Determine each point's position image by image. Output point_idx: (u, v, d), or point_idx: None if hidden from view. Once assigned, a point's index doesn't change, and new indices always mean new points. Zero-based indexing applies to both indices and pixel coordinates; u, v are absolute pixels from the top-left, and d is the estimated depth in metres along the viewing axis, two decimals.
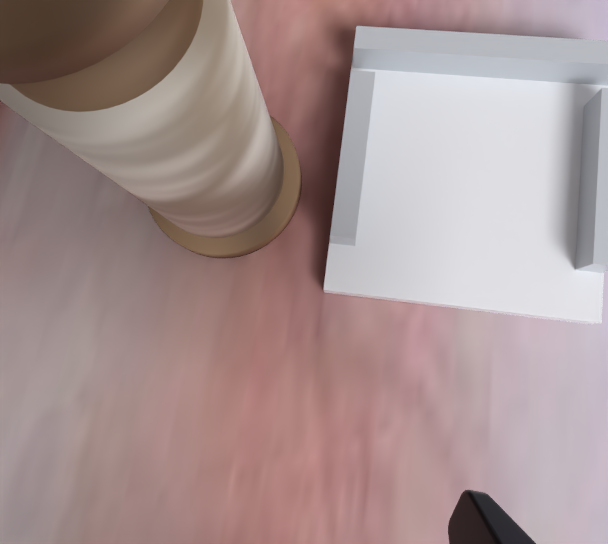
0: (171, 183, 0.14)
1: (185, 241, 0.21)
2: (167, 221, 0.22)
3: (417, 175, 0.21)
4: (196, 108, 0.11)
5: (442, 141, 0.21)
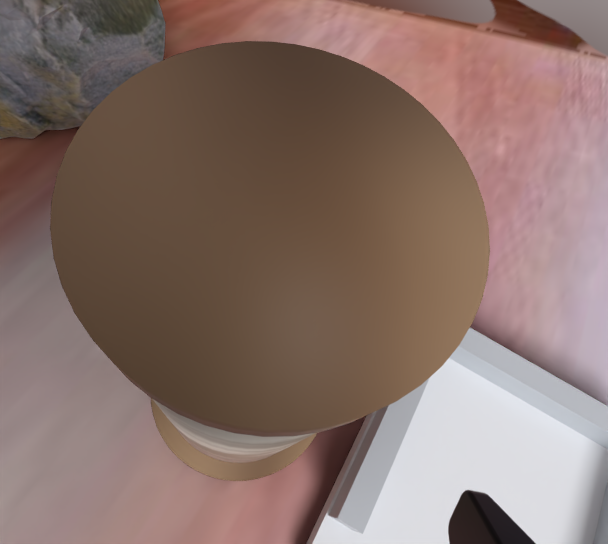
0: (227, 450, 0.12)
1: (172, 442, 0.18)
2: None
3: (438, 476, 0.19)
4: None
5: (471, 450, 0.20)
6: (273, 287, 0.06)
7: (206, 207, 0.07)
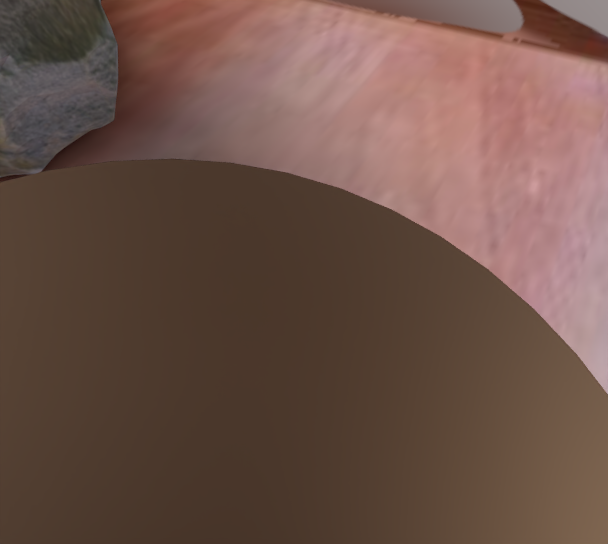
0: None
1: None
2: None
3: None
4: None
5: None
6: None
7: None
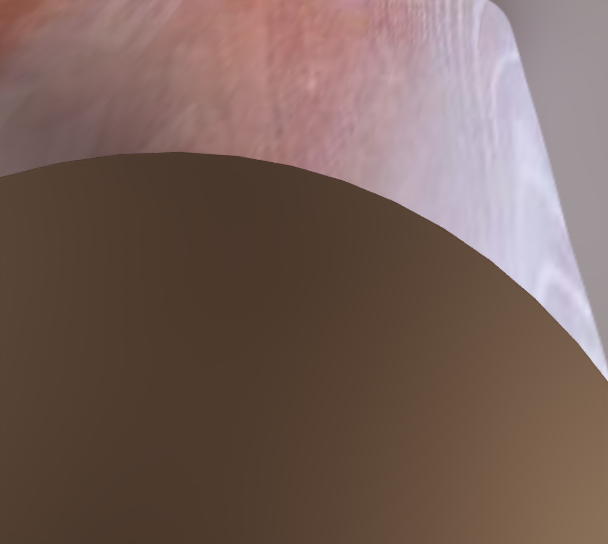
0: None
1: None
2: None
3: None
4: None
5: None
6: None
7: None
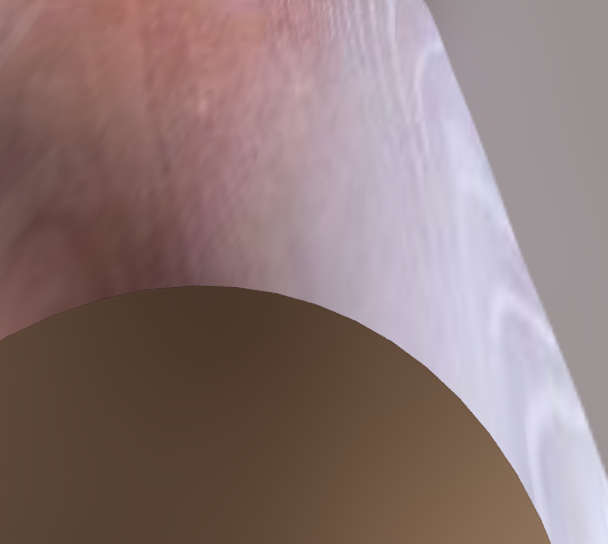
0: None
1: None
2: None
3: None
4: None
5: None
6: None
7: None
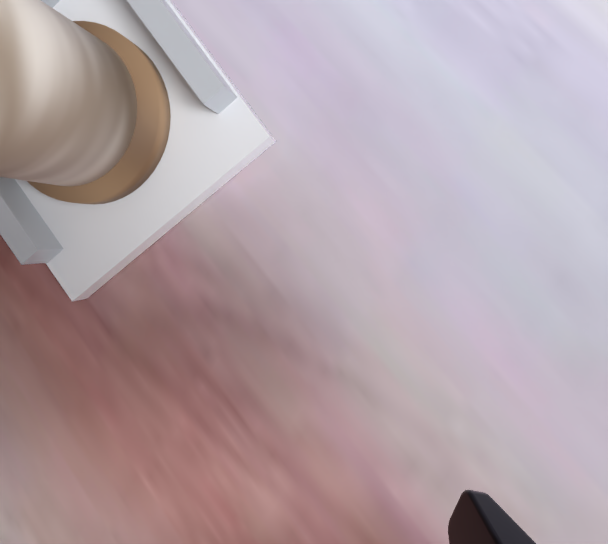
0: None
1: (77, 197, 0.20)
2: (51, 186, 0.20)
3: None
4: None
5: None
6: None
7: None
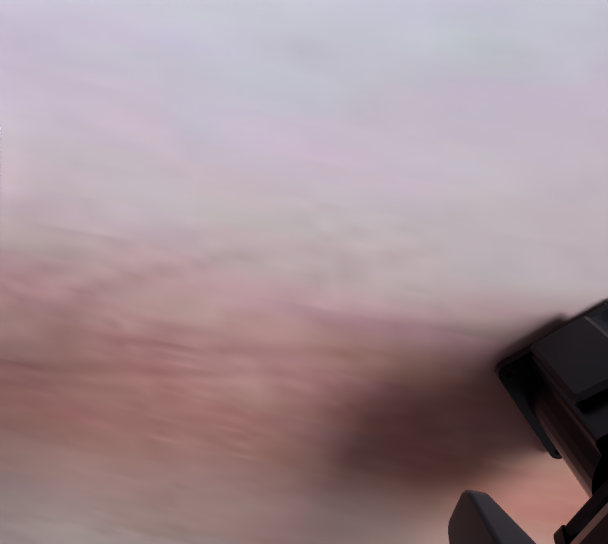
0: None
1: None
2: None
3: None
4: None
5: None
6: None
7: None
